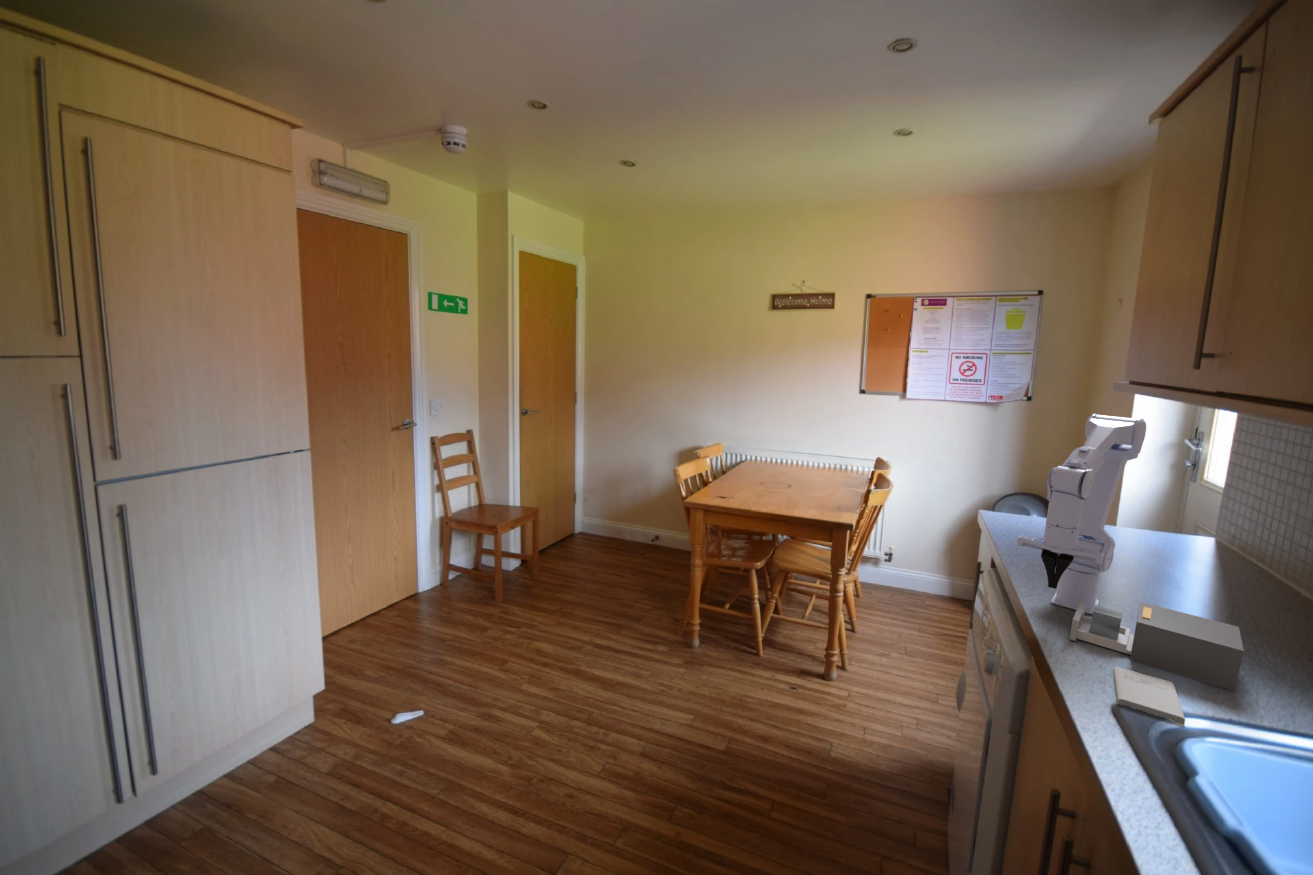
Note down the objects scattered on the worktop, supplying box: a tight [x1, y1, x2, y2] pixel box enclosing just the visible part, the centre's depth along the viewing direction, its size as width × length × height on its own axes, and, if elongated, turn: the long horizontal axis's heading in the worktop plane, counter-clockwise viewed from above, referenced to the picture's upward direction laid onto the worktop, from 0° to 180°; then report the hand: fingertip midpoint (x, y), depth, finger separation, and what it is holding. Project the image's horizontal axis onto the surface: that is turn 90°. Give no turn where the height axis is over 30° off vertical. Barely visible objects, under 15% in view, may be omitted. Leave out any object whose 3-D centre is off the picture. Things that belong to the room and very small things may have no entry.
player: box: [1129, 601, 1245, 693], centre depth 106 cm, size 12×14×8 cm
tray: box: [1069, 601, 1134, 656], centre depth 112 cm, size 12×14×4 cm
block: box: [1089, 604, 1123, 641], centre depth 113 cm, size 4×4×5 cm
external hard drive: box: [1112, 666, 1186, 725], centre depth 95 cm, size 2×8×12 cm
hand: (1052, 586), depth 119 cm, fingers closed
